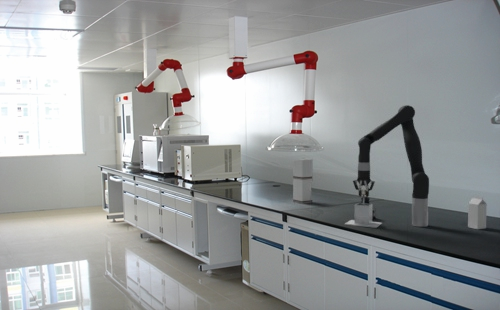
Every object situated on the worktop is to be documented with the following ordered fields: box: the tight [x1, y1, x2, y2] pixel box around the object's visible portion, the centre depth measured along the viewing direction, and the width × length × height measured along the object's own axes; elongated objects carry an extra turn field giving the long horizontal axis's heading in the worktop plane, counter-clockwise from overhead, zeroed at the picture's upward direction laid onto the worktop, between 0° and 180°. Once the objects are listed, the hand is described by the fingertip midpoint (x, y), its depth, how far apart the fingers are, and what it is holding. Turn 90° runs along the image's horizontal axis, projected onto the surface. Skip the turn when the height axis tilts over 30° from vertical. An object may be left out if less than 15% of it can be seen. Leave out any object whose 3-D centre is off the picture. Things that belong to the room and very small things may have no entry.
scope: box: [360, 196, 377, 220], centre depth 323 cm, size 8×14×10 cm
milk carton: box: [467, 195, 487, 230], centre depth 291 cm, size 7×7×19 cm
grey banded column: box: [292, 158, 314, 205], centre depth 390 cm, size 11×11×35 cm
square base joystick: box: [353, 202, 373, 225], centre depth 304 cm, size 9×9×12 cm
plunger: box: [361, 188, 366, 205], centre depth 303 cm, size 7×7×17 cm
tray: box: [344, 219, 383, 229], centre depth 304 cm, size 20×14×1 cm
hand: (363, 196), depth 303 cm, fingers open, 3 cm apart
